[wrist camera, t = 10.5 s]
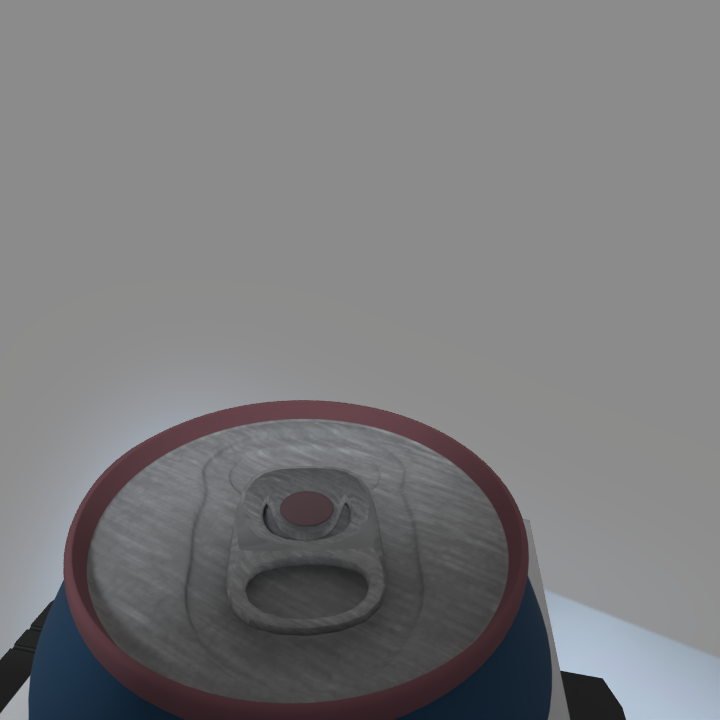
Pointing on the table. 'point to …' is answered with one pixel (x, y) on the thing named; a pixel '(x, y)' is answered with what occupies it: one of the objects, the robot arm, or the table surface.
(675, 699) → the table surface
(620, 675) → the table surface
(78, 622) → the soda can
